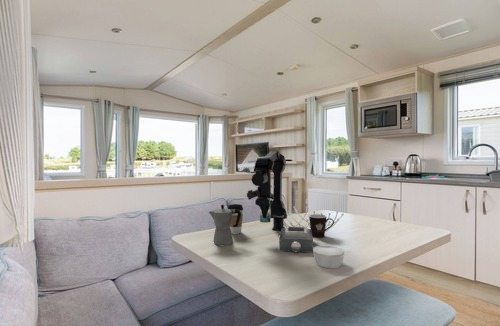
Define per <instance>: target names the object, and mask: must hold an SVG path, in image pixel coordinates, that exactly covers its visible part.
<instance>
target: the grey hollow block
mask: <svg viewBox="0 0 500 326" xmlns="http://www.w3.org/2000/svg"><path fill="white" fill-rule="evenodd" d="M307 227H308V226H295V225H294V226H292V225H290V226H289V225H286V226H285V228H284V229H283V228H282V229H281V230H280V234H279V238H278V240H279V244H278V245H279V246H278V247H279V252H295V253H298V252H299V253H313V248H314V239H313V238H314V237H312V231H311V228H310V229H308V228H307Z"/></svg>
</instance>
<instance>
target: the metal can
mask: <svg viewBox="0 0 500 326" xmlns="http://www.w3.org/2000/svg"><path fill="white" fill-rule="evenodd" d="M270 215H271V209H270V207H269V210H268V213H267V216H266V218H263V215H262V211H261V208H260V207H259V222H260V223H271V220H272V218H271V216H270Z"/></svg>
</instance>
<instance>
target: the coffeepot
mask: <svg viewBox="0 0 500 326" xmlns="http://www.w3.org/2000/svg"><path fill="white" fill-rule="evenodd" d="M220 207H221V208H217V209H215V210H211V211H208V214H209V215H210V216H211V217H212V219H213V222H214V223H213V224H214V226H215V229H214V236H213V241H212V242H214V243H215V244H217V245H216V246H219V245H224V246H229V245H232V244H233V242H234V241H233V234H232V233H231V229H230V225H231V219H232V214H235V213H237V214H238V215H237V220H236V224H235V225H233V227H237V226H238V223H239V220H240V217H241V212H240V211H239V210H238V209H235V210H230V209H228V208H225V204H221V205H220ZM214 243H213V244H214ZM231 243H232V244H231ZM215 244H214V245H215ZM228 244H229V245H228Z"/></svg>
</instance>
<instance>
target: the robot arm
mask: <svg viewBox="0 0 500 326" xmlns="http://www.w3.org/2000/svg"><path fill="white" fill-rule="evenodd" d="M286 165H287V161H286V157H285V156H284V155H283V154H282V153H281V152H280V151H279V150H270V151H269V152H268V153H267V154H266V155H265V156H258V157H257V158H256V159H255V163H254V169H253V172H254V174H252V176H251V183H252V185H254V186H255V187H257V188H256V189H253V190H252V189H250V190H248V191H247V192H246V197H247V198H248V200H249V201H250V200H252V199H254V198H256V197H257V198H256V199H255V201H254V202H255V203H254V204H255V205H256V206H258V207H259V209H260V208H261V211H262V215H263V218H266V216H267V213H268V210H269V207H270V209H271V215H270V216H271V219H273V220H272V222H273V223H272V225H273V226H272V229H271V230H272V231H281V229H282V228H283V229H286V226H285V224H284V223H285V222H284V220H286V219H288V214H287V210H286V208H285V207H286V206H285V203H284V201H283V200H282V199H283V198H282V197H283V196H282V192H283V191H282V189H283V186H282V185H283V182H282V180H283V179H282V178H283V173H284V171H285V169H286ZM271 173H273V191H272V177H271V176H272V174H271ZM272 192H273V193H272Z"/></svg>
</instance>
